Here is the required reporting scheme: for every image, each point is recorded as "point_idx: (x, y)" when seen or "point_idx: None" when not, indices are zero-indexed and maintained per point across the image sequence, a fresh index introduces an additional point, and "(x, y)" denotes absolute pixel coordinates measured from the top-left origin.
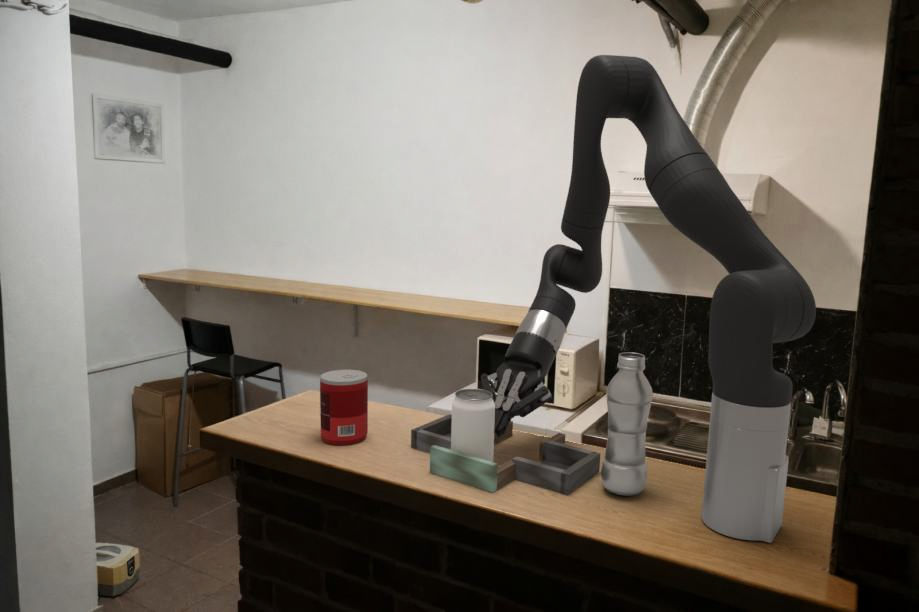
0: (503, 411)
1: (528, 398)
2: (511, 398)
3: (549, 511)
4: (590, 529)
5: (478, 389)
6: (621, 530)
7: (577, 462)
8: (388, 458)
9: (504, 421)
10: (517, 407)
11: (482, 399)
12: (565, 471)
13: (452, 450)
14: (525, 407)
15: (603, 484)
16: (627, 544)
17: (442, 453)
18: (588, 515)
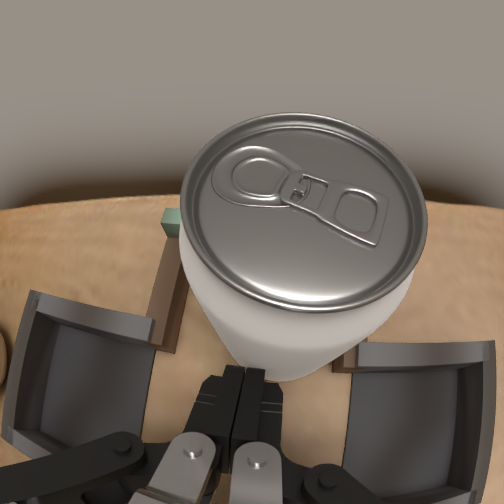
0: (207, 431)
1: (59, 474)
2: (169, 495)
3: (77, 233)
4: (33, 218)
5: (354, 300)
6: (5, 236)
7: (21, 365)
8: (456, 273)
9: (197, 405)
10: (124, 441)
11: (210, 140)
12: (35, 302)
13: None
14: (121, 501)
15: (4, 344)
16: (7, 211)
17: None
18: (31, 252)
